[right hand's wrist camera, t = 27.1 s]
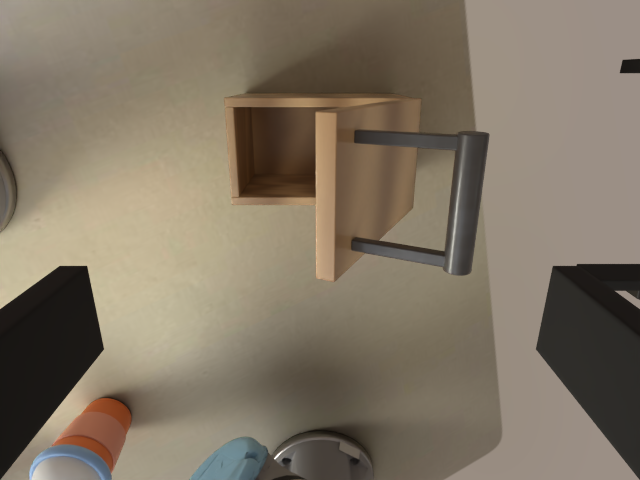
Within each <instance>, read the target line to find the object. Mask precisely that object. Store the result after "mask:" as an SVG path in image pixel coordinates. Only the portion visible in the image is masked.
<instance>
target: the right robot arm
mask: <svg viewBox="0 0 640 480" xmlns="http://www.w3.org/2000/svg"><path fill="white" fill-rule="evenodd" d="M15 205H16V185H15V180H14V176H13V173H12V171H11V168H10V166H9V164H8V162H7V160H6V158H5V156H4V155H3V153H2V152H1V150H0V232H1V231H2V230H3V229H4V228H5V227H6V225H7V224H8V223H9V221H10V219H11V217H12V215H13V213H14V209H15ZM103 350H104V347H103V342H102V337H101V332H100V327H99V322H98V317H97V313H96V308H95V303H94V298H93V293H92V288H91V283H90V278H89V273H88V268H87V266H59V267H58V268H56V269H55V270H54V271H52V272H51V273H50V274H48V275H47V276H45V277H44V278H43V279H41V280H40V281H39V282H37V283H36V284H34V285H33V286H32V287H30V288H29V289H28V290H26V291H25V292H23V293H22V294H21V295H19V296H18V297H16V298H15V299H14V300H12V301H11V302H10V303H8V304H7V305H5V306H4V307H3V308H1V309H0V479H1V478H2V477H3V476H4V474H5V473H6V472H7V471H8V469H9V468H10V467H11V466H12V464H13V463H14V462H15V461H16V459H17V458H18V457H19V456H20V454H21V453H22V452H23V450H24V449H25V448H26V447H27V445H28V444H29V443H30V442H31V440H32V439H33V438H34V437H35V435H36V434H37V433H38V432H39V430H40V429H41V428H42V427H43V425H44V424H45V423H46V422H47V420H48V419H49V418H50V416H51V415H52V414H53V413H54V411H55V410H56V409H57V408H58V406H59V405H60V404H61V403H62V401H63V400H64V399H65V398H66V396H67V395H68V394H69V393H70V391H71V390H72V389H73V388H74V386H75V385H76V384H77V382H78V381H79V380H80V379H81V377H82V376H83V375H84V374H85V372H86V371H87V370H88V369H89V367H90V366H91V365H92V364H93V362H94V361H95V360H96V359H97V357H98V356H99V355H100V354H101V352H102V351H103ZM536 350H537V351H538V352H539V353H540V355H541V356H542V357H543V359H544V360H545V361H546V362H547V364H548V365H549V366H550V367H551V369H552V370H553V371H554V372H555V374H556V375H557V376H558V377H559V379H560V380H561V381H562V382H563V384H564V385H565V386H566V387H567V389H568V390H569V391H570V392H571V394H572V395H573V396H574V398H575V399H576V400H577V401H578V403H579V404H580V405H581V406H582V408H583V409H584V410H585V411H586V413H587V414H588V415H589V416H590V418H591V419H592V420H593V422H594V423H595V424H596V425H597V427H598V428H599V429H600V430H601V432H602V433H603V434H604V435H605V437H606V438H607V439H608V440H609V442H610V443H611V444H612V445H613V447H614V448H615V449H616V450H617V452H618V453H619V454H620V455H621V457H622V458H623V459H624V460H625V462H626V463H627V464H628V466H629V467H630V468H631V469H632V471H633V472H634V473H635V474H636V476H637V477H638V478H639V479H640V309H639V308H637V307H636V306H634V305H633V304H632V303H630V302H629V301H628V300H626V299H625V298H624V297H622V296H621V295H619V294H618V293H617V292H615V291H614V290H612V289H611V288H610V287H608V286H607V285H606V284H604V283H603V282H601V281H600V280H599V279H597V278H596V277H595V276H593V275H592V274H590V273H589V272H588V271H586V270H585V269H584V268H582V267H581V266H553V268H552V273H551V278H550V283H549V288H548V293H547V298H546V303H545V308H544V313H543V317H542V322H541V327H540V332H539V337H538V342H537V347H536Z"/></svg>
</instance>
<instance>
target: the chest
mask: <svg viewBox="0 0 640 480" xmlns="http://www.w3.org/2000/svg"><path fill="white" fill-rule="evenodd" d="M406 98H410V97H406V96H401V95H397V94H392V93H244V94H240V95H235V96H230V97H225V98H224V104H225V117H226V130H227V144H228V158H229V172H230V186H231V196H232V197H231V200H232V205H316V112H317V111H322V110H329V109H336V108H343V107H350V106H357V105H364V104H371V103H378V102H385V101H392V100H399V99H406Z"/></svg>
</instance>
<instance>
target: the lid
mask: <svg viewBox="0 0 640 480" xmlns="http://www.w3.org/2000/svg"><path fill="white" fill-rule="evenodd" d="M421 100H422V99H421V98H406V99H399V100H392V101H385V102H378V103H371V104H364V105H357V106H350V107H343V108H336V109H329V110H322V111H317V112H316V278H318V279H323V280H327V281H332V282H335V281H336V280H337V279H338V278H339V277H340V276H341V275H342V274H343V273H344V272H345V271H347V270H348V269H349V268H350V267H351V266H352V265H353V264H354V263H355V262H356V261H357V260H358V259H359V258H360V257H361V256H362V255H364V254H365V253H368V254H373V255H379V256H385V257H390V258H396V259H401V260H407V261H412V262H418V263H423V264H429V265H434V266H440V267H443V270H444V271H445V272H447V273H449V274H453V275H468V274H470V272H471V269H472V261H473V254H474V246H475V239H476V231H477V224H478V216H479V209H480V202H481V194H482V187H483V179H484V172H485V164H486V157H487V149H488V142H489V133H485V132H475V131H464V132H458V133H457V135H455V134H437V133H419V126H420V113H421ZM418 148H428V149H443V150H456V151H455V160H454V170H453V179H452V188H451V197H450V206H449V215H448V225H447V234H446V243H445V252H444V251H438V250H432V249H426V248H420V247H414V246H408V245H402V244H396V243H390V242H384V241H378V240H379V239H381V238H382V237H383V236H384V235H385V234H386V233H387V232H388V231H389V230H390V229H391V228H392V227H393V226H394V225H395V224H396V223H398V222H399V221H400V220H401V219H402V218H403V217H404V216H405V215H406V214H407V213H408V212H409V211H410V210H411V209H412V208H413V202H414V189H415V176H416V164H417V151H418Z"/></svg>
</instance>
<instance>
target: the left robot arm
mask: <svg viewBox="0 0 640 480" xmlns="http://www.w3.org/2000/svg"><path fill="white" fill-rule="evenodd" d="M620 73H640V59H631V60H623V61H622V66H621V70H620ZM577 266H581V267H582V268H584V269H585V270H586V271H588V272H589V273H590V274H592V275H593V276H595V277H596V278H597V279H599V280H600V281H601V282H603V283H604V284H606V285H607V286H608V287H610V288H611V289H612V290H614V291H627V292H628V293H630V294H631V295H633V296H634V297H636V298H637V299H639V300H640V264H577ZM189 480H374V475H373V468H372V462H371V459H370V457H369V455H368V453H367V452H366V450H365V449H364V448H363V447H362V446H361V445H360V444H359V443H357V442H356V441H355V440H353V439H351V438H349V437H347V436H345V435H342V434H339V433H335V432H329V431H312V432H306V433H302V434H299V435H296V436H294V437H292V438H290V439H288V440H287V441H285V442H284V443H282V444H281V445H280V446H279V447H278V448H277V449H276V451H275V452H274V454H273V455H272V456H271V455H270V454H269V453H268V450H267V448H266V446H262V445H261V444H260V443H259V442H258V441H256V440H255V439H253V438H251V437H240V438H237V439H234V440H232V441H230V442H228V443H226V444H225V445H223V446H222V447H221V448H219V449H218V450H217V451H215V452H214V453H213V454H212V455H211V456H210V457H209V458H208V459H207V460H205V461H204V462H203V464H202V465H201V466H200V467H199V468H198V469H197V470H196V472H195V473H194V474H193V475H192V477H191V478H190V479H189Z"/></svg>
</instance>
